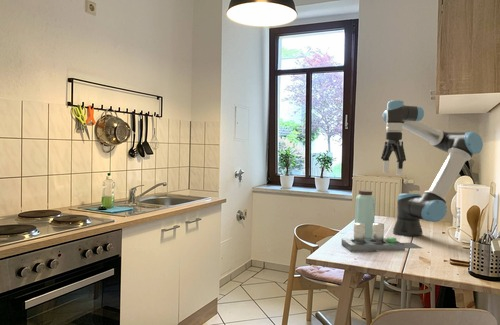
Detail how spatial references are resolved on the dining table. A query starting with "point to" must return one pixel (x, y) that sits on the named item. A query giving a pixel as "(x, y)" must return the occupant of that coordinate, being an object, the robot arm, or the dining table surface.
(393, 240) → the button
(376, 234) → the billet
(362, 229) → the cylinder
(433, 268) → the dining table surface
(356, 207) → the water bottle
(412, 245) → the pad
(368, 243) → the tray
